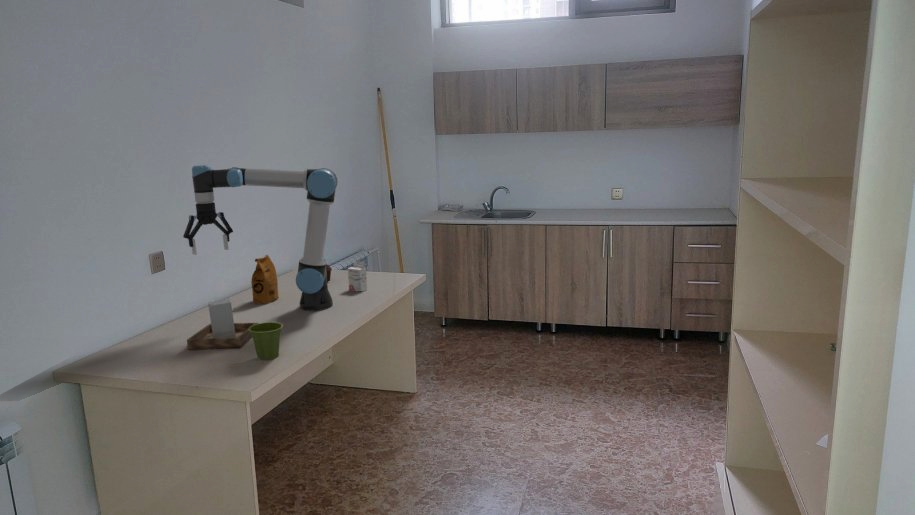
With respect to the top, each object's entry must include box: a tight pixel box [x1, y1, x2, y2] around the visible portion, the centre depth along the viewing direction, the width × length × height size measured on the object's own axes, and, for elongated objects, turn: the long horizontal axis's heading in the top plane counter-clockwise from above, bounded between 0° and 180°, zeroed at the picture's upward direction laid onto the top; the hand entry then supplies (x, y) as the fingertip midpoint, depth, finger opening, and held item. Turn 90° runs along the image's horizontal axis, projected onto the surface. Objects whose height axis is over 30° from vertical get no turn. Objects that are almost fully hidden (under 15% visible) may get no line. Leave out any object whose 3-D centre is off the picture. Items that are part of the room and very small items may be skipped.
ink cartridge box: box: [347, 260, 368, 292], centre depth 310 cm, size 9×5×15 cm, turn 58°
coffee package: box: [251, 254, 279, 305], centre depth 294 cm, size 10×12×22 cm
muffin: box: [326, 263, 332, 283], centre depth 332 cm, size 12×11×10 cm
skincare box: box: [207, 298, 236, 338], centre depth 237 cm, size 8×6×15 cm
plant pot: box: [248, 321, 284, 361], centre depth 218 cm, size 12×12×11 cm
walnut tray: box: [186, 322, 259, 351], centre depth 238 cm, size 20×20×4 cm
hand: (210, 251), depth 260 cm, fingers open, 13 cm apart
